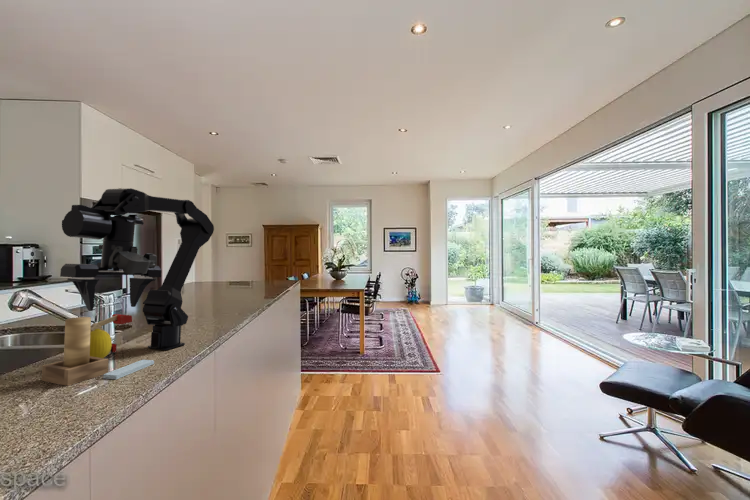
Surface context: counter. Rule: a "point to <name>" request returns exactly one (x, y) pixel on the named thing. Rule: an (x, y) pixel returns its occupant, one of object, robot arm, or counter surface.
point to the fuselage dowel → (77, 341)
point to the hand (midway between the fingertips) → (112, 308)
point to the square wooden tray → (74, 371)
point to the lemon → (100, 343)
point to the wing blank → (128, 369)
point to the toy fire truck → (115, 319)
